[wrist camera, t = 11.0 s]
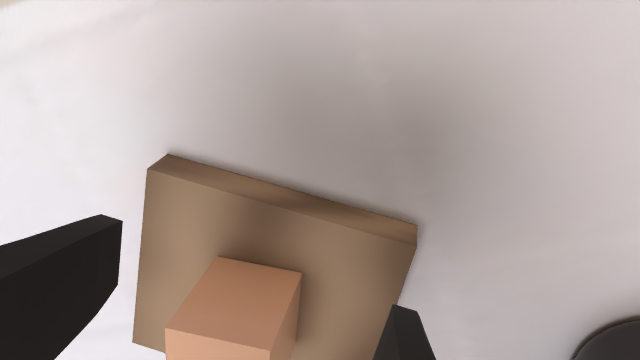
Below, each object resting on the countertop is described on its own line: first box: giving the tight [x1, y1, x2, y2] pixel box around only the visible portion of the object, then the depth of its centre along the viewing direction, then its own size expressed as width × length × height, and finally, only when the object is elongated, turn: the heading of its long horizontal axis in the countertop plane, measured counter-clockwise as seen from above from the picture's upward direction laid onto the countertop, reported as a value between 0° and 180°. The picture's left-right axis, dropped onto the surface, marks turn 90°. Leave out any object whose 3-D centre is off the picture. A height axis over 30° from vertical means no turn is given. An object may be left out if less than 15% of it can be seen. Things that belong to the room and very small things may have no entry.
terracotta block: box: [165, 256, 302, 360], centre depth 21 cm, size 4×4×5 cm
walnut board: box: [132, 154, 417, 360], centre depth 25 cm, size 12×10×2 cm
